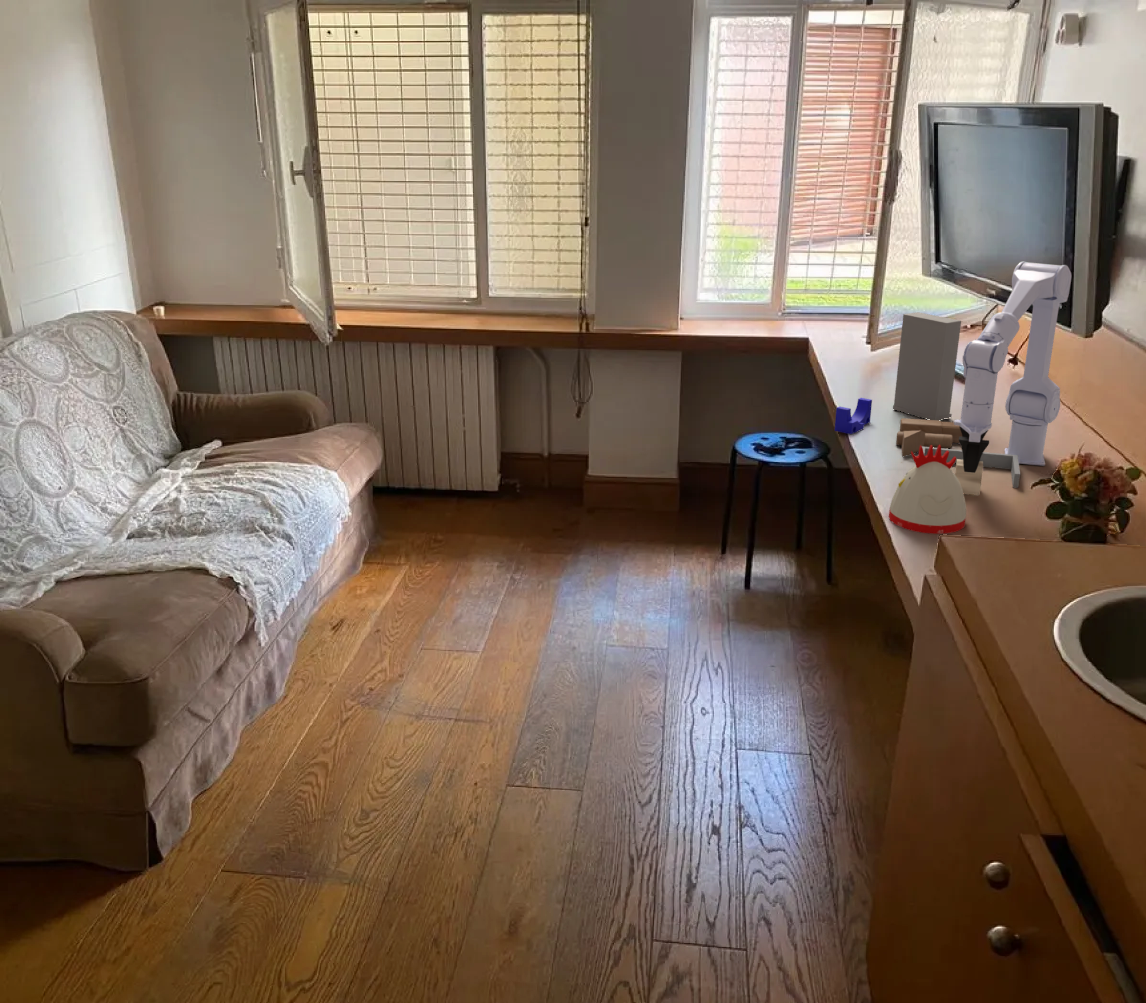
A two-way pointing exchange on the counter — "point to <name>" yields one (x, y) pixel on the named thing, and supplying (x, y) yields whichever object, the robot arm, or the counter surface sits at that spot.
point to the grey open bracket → (987, 461)
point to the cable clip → (853, 417)
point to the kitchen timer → (929, 496)
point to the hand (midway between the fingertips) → (969, 465)
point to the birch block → (969, 478)
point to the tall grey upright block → (926, 365)
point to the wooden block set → (926, 434)
